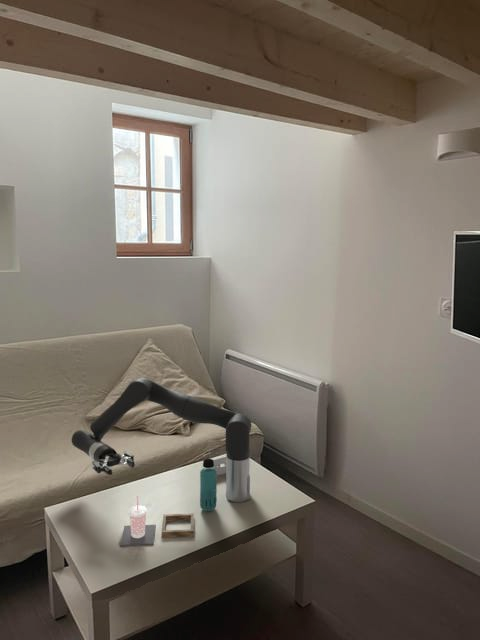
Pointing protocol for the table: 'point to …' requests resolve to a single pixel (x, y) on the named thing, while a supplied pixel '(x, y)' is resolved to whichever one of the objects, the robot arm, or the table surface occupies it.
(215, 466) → the cassette
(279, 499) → the table surface
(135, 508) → the beverage cup
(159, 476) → the table surface
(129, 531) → the rubber mat
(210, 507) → the beverage bottle
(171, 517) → the walnut holder
